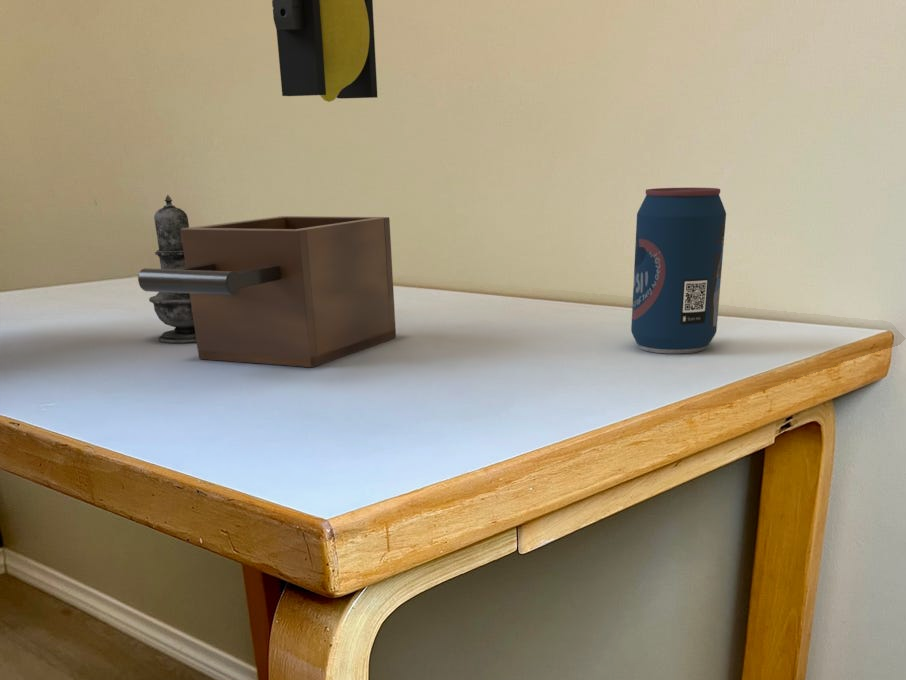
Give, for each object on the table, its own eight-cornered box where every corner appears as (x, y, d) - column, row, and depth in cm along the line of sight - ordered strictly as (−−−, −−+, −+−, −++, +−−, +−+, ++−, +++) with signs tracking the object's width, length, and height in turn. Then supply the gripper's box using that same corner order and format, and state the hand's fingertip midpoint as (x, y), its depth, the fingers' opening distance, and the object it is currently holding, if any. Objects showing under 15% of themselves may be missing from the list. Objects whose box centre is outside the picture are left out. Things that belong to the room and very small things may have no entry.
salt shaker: (179, 331, 96) (159, 193, 90) (233, 333, 94) (215, 193, 89) (141, 342, 91) (117, 197, 86) (197, 344, 89) (176, 196, 84)
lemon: (389, 102, 65) (384, -47, 61) (332, 99, 61) (322, -60, 57) (325, 103, 68) (316, -39, 64) (267, 101, 64) (253, -51, 60)
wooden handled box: (293, 331, 95) (282, 215, 90) (396, 337, 90) (389, 217, 86) (138, 376, 77) (114, 236, 73) (256, 387, 73) (239, 239, 69)
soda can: (617, 342, 86) (624, 188, 80) (692, 337, 87) (703, 186, 82) (651, 357, 80) (660, 192, 74) (730, 351, 81) (745, 189, 76)
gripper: (249, -504, 45) (298, 90, 55) (438, -346, 60) (448, 98, 70) (119, -464, 48) (189, 94, 58) (331, -323, 63) (356, 101, 73)
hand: (331, 95), depth 64 cm, fingers closed on lemon, 5 cm apart
